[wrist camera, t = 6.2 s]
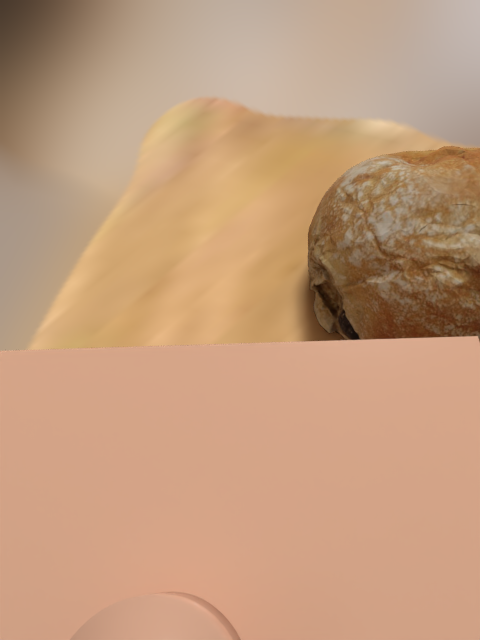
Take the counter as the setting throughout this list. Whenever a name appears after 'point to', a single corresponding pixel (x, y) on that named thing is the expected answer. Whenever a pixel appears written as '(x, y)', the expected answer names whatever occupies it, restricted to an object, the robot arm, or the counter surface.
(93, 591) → the pink knobbed box
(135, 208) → the counter surface
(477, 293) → the bread roll
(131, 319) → the counter surface
